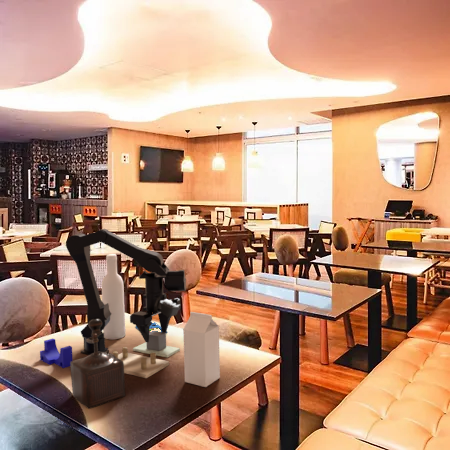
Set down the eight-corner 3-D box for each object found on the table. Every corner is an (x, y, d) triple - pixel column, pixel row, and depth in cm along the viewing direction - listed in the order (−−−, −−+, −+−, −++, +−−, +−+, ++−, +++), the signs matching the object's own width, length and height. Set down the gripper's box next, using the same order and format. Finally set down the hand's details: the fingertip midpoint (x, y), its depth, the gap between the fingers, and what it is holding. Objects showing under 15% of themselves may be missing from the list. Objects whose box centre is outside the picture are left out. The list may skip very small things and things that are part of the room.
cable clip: (40, 360, 144) (39, 342, 143) (53, 356, 147) (53, 338, 146) (58, 370, 136) (58, 350, 135) (72, 365, 139) (71, 346, 138)
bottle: (116, 340, 160) (112, 256, 158) (98, 338, 164) (95, 255, 161) (130, 334, 167) (127, 253, 165) (113, 331, 171) (110, 252, 168)
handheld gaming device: (154, 320, 181) (167, 331, 168) (154, 323, 181) (167, 334, 168) (133, 324, 177) (146, 334, 164) (134, 326, 177) (146, 337, 164)
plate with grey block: (167, 358, 144) (166, 339, 143) (133, 351, 150) (132, 333, 150) (180, 351, 150) (179, 333, 149) (146, 345, 157) (146, 327, 156)
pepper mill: (128, 395, 118) (126, 327, 116) (88, 409, 111) (84, 337, 109) (101, 377, 129) (99, 315, 128) (63, 389, 122) (60, 324, 121)
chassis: (99, 367, 137) (98, 354, 137) (124, 354, 146) (123, 342, 146) (146, 378, 128) (145, 364, 128) (169, 364, 138) (168, 351, 137)
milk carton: (205, 388, 121) (204, 318, 120) (184, 382, 125) (182, 315, 123) (220, 378, 127) (218, 312, 126) (199, 373, 131) (197, 308, 129)
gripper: (156, 300, 136) (158, 350, 138) (190, 287, 153) (191, 333, 154) (128, 296, 142) (129, 345, 143) (163, 284, 158) (165, 328, 159)
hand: (155, 337), depth 150 cm, fingers open, 9 cm apart
